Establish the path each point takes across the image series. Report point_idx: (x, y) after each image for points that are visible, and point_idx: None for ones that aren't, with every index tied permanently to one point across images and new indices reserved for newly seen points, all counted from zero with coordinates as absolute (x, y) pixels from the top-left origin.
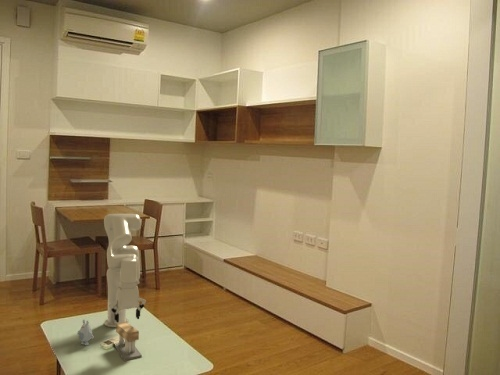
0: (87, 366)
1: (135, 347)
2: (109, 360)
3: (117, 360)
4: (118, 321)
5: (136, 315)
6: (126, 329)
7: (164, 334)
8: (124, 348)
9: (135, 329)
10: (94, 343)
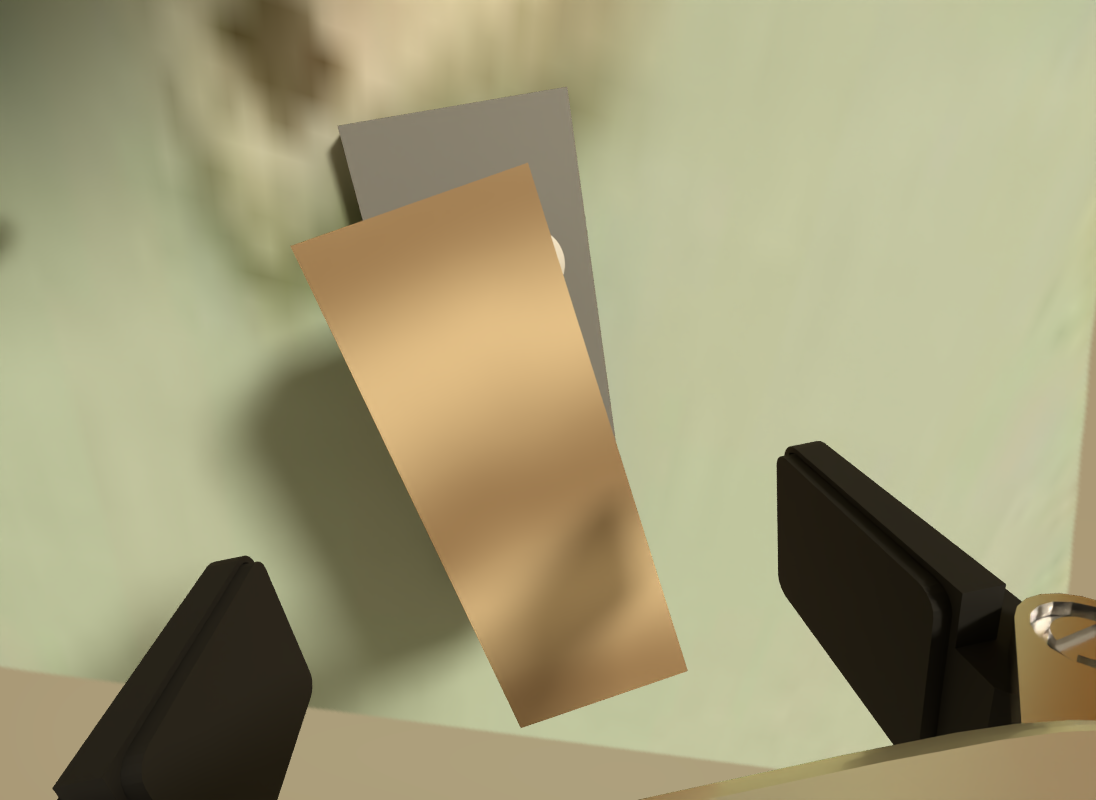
0: (122, 622)
1: (602, 384)
2: (325, 552)
3: (402, 565)
4: (303, 702)
5: (809, 532)
6: (500, 581)
7: (1034, 15)
8: None
9: (650, 603)
10: (69, 35)
